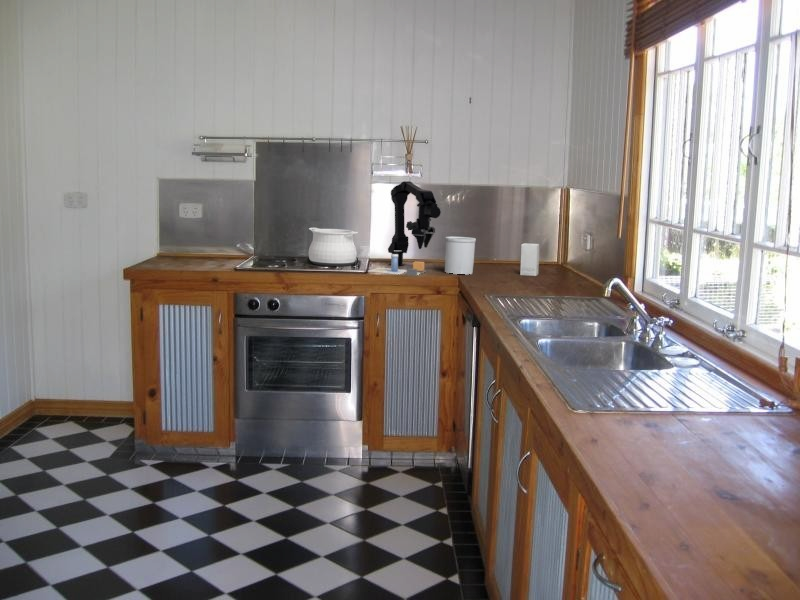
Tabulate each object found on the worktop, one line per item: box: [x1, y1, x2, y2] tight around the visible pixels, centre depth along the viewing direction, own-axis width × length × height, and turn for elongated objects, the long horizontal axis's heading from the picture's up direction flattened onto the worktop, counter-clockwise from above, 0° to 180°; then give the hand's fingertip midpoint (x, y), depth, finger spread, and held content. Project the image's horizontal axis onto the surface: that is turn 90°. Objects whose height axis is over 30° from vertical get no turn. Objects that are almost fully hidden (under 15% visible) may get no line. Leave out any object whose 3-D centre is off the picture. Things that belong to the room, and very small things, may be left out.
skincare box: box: [519, 242, 540, 277], centre depth 439 cm, size 8×7×16 cm
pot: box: [308, 227, 359, 267], centre depth 449 cm, size 28×24×17 cm
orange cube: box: [412, 260, 425, 271], centre depth 430 cm, size 4×4×4 cm
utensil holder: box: [444, 236, 477, 276], centre depth 435 cm, size 15×15×18 cm
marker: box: [390, 253, 399, 272], centre depth 428 cm, size 3×3×8 cm
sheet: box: [367, 267, 407, 275], centre depth 431 cm, size 15×16×1 cm
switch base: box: [406, 268, 427, 277], centre depth 427 cm, size 14×5×3 cm, turn 160°
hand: (422, 248), depth 435 cm, fingers open, 8 cm apart
